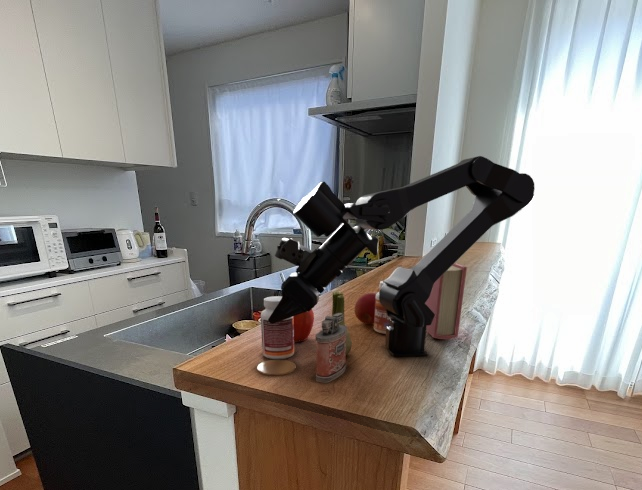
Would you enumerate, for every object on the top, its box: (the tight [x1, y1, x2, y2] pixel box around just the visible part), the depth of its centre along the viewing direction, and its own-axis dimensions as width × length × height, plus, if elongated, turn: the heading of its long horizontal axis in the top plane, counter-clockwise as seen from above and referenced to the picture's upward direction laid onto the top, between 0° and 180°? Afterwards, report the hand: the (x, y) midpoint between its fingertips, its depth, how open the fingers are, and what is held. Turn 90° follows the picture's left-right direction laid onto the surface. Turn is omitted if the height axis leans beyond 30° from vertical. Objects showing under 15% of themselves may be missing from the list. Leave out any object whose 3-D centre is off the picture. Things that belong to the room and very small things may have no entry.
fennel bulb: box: [331, 291, 352, 356], centre depth 71 cm, size 6×5×12 cm
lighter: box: [315, 313, 348, 383], centre depth 63 cm, size 8×3×10 cm, turn 148°
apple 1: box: [293, 308, 315, 343], centre depth 81 cm, size 8×8×11 cm
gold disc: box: [256, 359, 297, 376], centre depth 67 cm, size 7×7×1 cm
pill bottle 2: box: [373, 280, 392, 335], centre depth 85 cm, size 6×6×11 cm
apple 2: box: [354, 292, 378, 325], centre depth 92 cm, size 8×8×8 cm
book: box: [425, 262, 468, 340], centre depth 84 cm, size 14×15×5 cm
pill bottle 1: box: [260, 295, 295, 360], centre depth 72 cm, size 6×6×11 cm
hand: (275, 315), depth 71 cm, fingers open, 9 cm apart
